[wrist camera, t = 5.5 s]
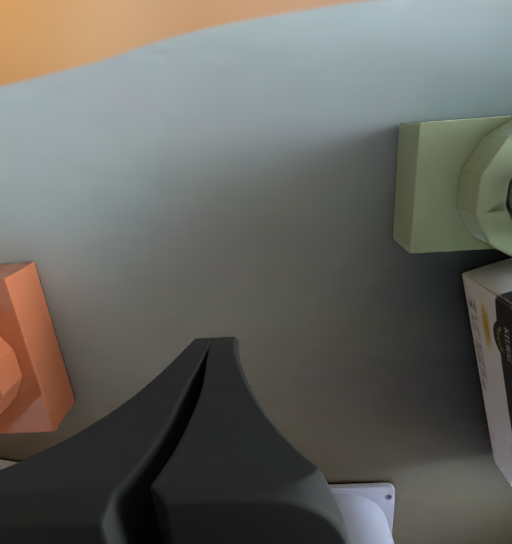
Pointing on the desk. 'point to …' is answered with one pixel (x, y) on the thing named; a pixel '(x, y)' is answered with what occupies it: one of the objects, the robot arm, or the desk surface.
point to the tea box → (494, 351)
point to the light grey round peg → (510, 196)
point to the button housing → (29, 356)
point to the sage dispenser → (454, 185)
